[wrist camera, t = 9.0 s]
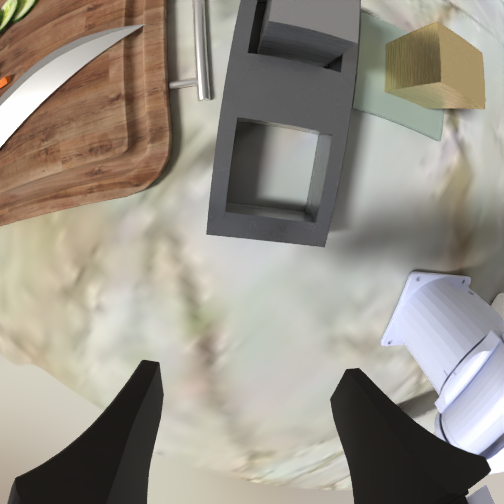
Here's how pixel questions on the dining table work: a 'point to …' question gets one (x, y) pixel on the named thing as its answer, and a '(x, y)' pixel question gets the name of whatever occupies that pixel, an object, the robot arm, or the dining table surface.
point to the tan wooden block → (435, 69)
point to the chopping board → (86, 100)
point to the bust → (499, 304)
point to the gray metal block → (309, 29)
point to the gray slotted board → (286, 116)
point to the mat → (373, 81)
